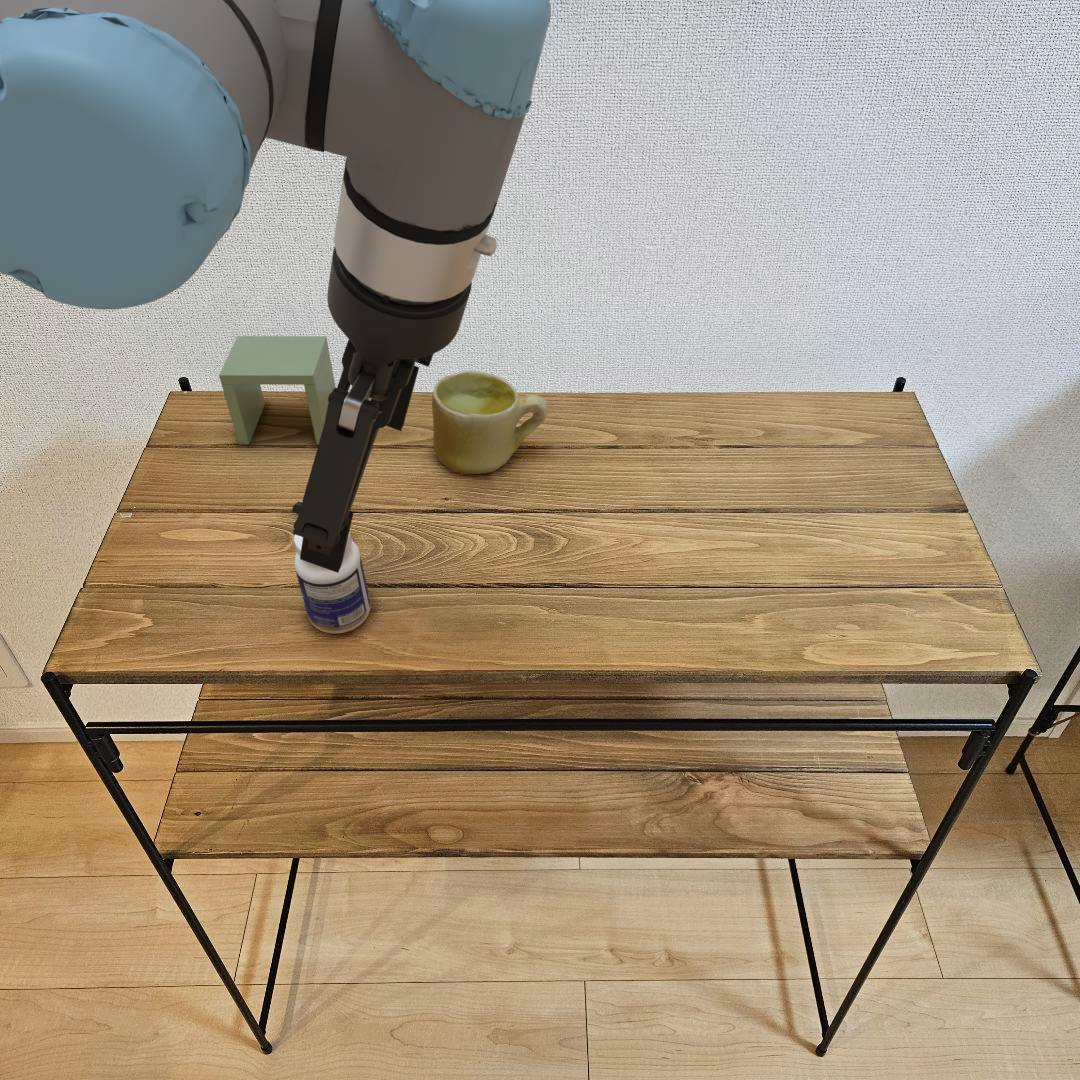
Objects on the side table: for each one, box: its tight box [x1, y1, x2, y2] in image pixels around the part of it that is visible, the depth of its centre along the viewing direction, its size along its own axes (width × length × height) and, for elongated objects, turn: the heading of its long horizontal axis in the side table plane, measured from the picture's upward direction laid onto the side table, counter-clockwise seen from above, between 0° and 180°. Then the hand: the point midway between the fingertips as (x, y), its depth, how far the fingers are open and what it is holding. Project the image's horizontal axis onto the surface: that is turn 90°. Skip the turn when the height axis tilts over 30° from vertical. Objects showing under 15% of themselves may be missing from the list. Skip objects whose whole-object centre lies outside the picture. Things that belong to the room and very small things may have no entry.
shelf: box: [218, 335, 337, 446], centre depth 100 cm, size 10×8×9 cm
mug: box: [431, 370, 549, 475], centre depth 96 cm, size 12×10×10 cm
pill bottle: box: [293, 530, 371, 634], centre depth 78 cm, size 6×6×10 cm
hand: (355, 487), depth 64 cm, fingers open, 13 cm apart
